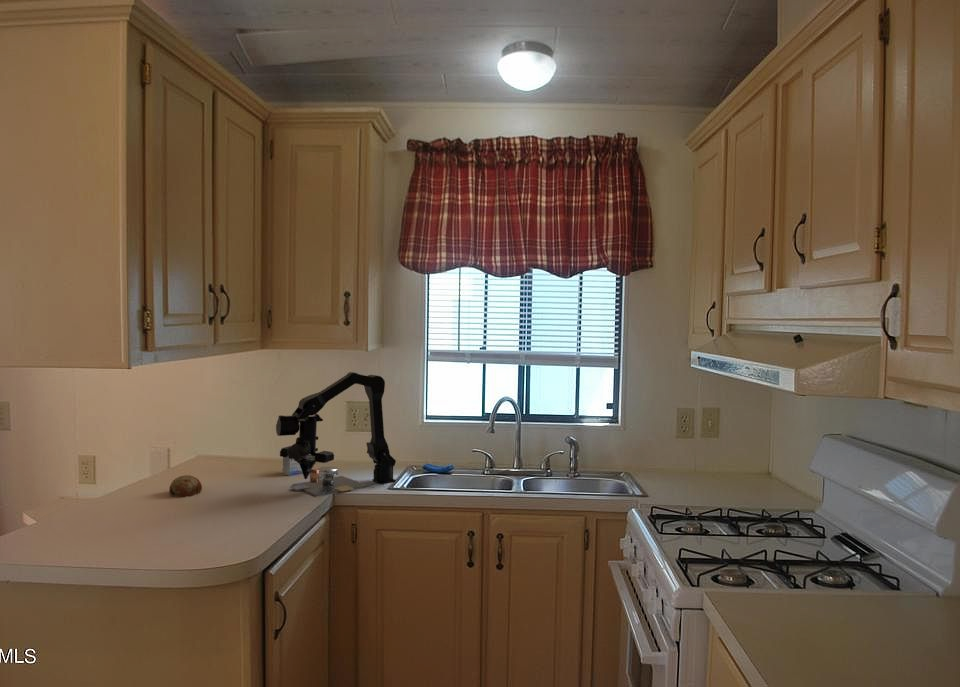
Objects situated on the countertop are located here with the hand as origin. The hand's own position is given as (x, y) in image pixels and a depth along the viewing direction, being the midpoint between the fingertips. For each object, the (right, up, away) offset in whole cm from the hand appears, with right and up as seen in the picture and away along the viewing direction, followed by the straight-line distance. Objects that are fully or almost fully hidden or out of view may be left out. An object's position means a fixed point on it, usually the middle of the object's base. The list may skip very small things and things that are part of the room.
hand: (305, 478), depth 213 cm
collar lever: (+4, -1, +6) cm, 7 cm away
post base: (+6, -4, +6) cm, 9 cm away
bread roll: (-40, -4, -4) cm, 40 cm away
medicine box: (-12, -4, +26) cm, 29 cm away
